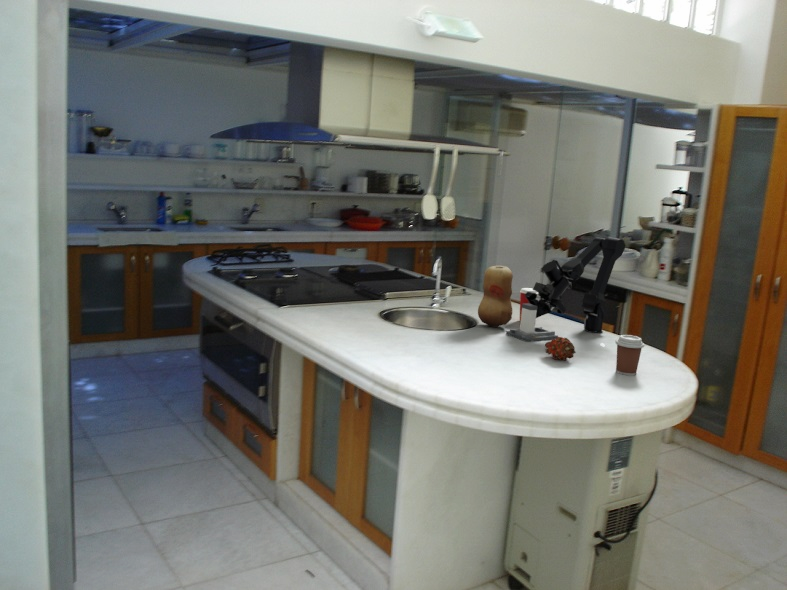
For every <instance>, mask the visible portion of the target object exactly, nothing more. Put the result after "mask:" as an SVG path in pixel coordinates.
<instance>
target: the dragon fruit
mask: <svg viewBox="0 0 787 590" xmlns="http://www.w3.org/2000/svg"><path fill="white" fill-rule="evenodd" d="M544 347H545V348H544V349H545V350H544V351H545V353H546V354H547V355H551V356H552V359H553V360H558V359H559V360H560V361H563V362H564V361H566V360H567V359H572V358H573V359H574V354H576V350H575V346H574V343H572V342H571V341H570V339H569V338H568V337H562V336H558V338H557V339H550V341H546V342H545V344H544Z"/></svg>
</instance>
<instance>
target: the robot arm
mask: <svg viewBox="0 0 787 590" xmlns="http://www.w3.org/2000/svg"><path fill="white" fill-rule="evenodd" d="M625 250H626V243H625V241H624V240H623V239H622V238H615V237H611V236H609V237H606V238H603V237H595V238H593V240H592V242H590V243H589V245H587V247H585V249H583V250H582V251H581V252H580V253H579V254H578V255H577V256H576V257H575V258H573V259H571V260H568V261H566V262H565V263H563V264H562V265H561V266H560V264H559V261H558V260H556V259H552V260H551V261H549V262H546V263H545V264H543V266H542V267H541V271H542V272H543V274H544V275H545V277H546V278H547V280H548V281H549V282H551V283H546V284H544V283H541V282H537V281H536V282H535V284H534V285H533V288H532V289H533V290H535V291H537V292H538V294H537V295H536V293H533V292H527V293H526V294H525V295H524V296H525V297H526V299H527V300H528V302H529V303H530V304H532V305H536V306H537V312H536V319H538V318H539V317H542V316H544V315H547V314H550V313H551V314H552V313H553V309H557V310H556V312H557V314H559V315H562V316H563V315H564V314H565V313H566V311H567V307H566V306H565V305H564V303H563V302H562V300H561V299H562V298H563V297H562V294H563V293H564V292H565V291H566V290H567V289H568V290H573V285H572V284H573V283H572V281H577V280H580V278H581V276H582V275H583V273H584V271H585V268H586V266H587V265H588V264H589V263H590V262H592V260H593V259H594V258H595V257H596V256H597V255H598V254H599V253H600V252H601V251H602V261H601V263H600V265H599V268H598V271H597V275H596V277H595V279H594V283H593V286H592V289H591V290H590V291H589V292H585V293H584V296H583V298H582V300H581V302H582V303H581V307H582V312H583V315H586V317H585V318H584V323H583V328H584V330H585V331H586V332H589V333H590V332H591V333H603V332H604V331H603V324H604V319H607V317H608V315H609V312H608V311H607V309H606V307H605V303H606V300H605V291H606V289H607V286H608V283H609V281H610V277H611V274H612V272H613V269H614V266H615V263H616V261H617V260H619V258H620V257H622V256H623V253H624V251H625ZM569 280H572V281H569Z"/></svg>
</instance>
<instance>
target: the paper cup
mask: <svg viewBox="0 0 787 590" xmlns="http://www.w3.org/2000/svg"><path fill="white" fill-rule="evenodd" d="M527 292H533V293H536V295H537V296H538V293H539V292H537V291H535V290H533V288H531V287H530V288H529V287H522V288H521V289H520V291H519V293H520V296H519V297H520V299H519V322H520V323H521V314H522V304H526V303H529V302H528V300H527V299H526V297H525V296H524V295H525V294H526V293H527ZM529 304H530V303H529Z"/></svg>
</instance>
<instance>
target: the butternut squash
mask: <svg viewBox="0 0 787 590" xmlns="http://www.w3.org/2000/svg"><path fill="white" fill-rule="evenodd" d="M513 277H514V275H513V272H512V270H511V269H510V268H509V267H508V266H506V265H492V266H489V267H488V268H487V269H485V272H484V276H483V283H482V289H483V296H482V299H481V301H480V303H479V305H478V306H477V307H478V308H477V315H478V318H479V320H480V321H481V322H482V323H484V324H485V325H487V326H488V327H492V328H499V327H501V326H505V325H507V324H508V323H509V322H510V321H511V320H512V318H513V317H512V316H513V305H512V301H511V297H512V294H513V288H512V287H513V286H512V283H513Z"/></svg>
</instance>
